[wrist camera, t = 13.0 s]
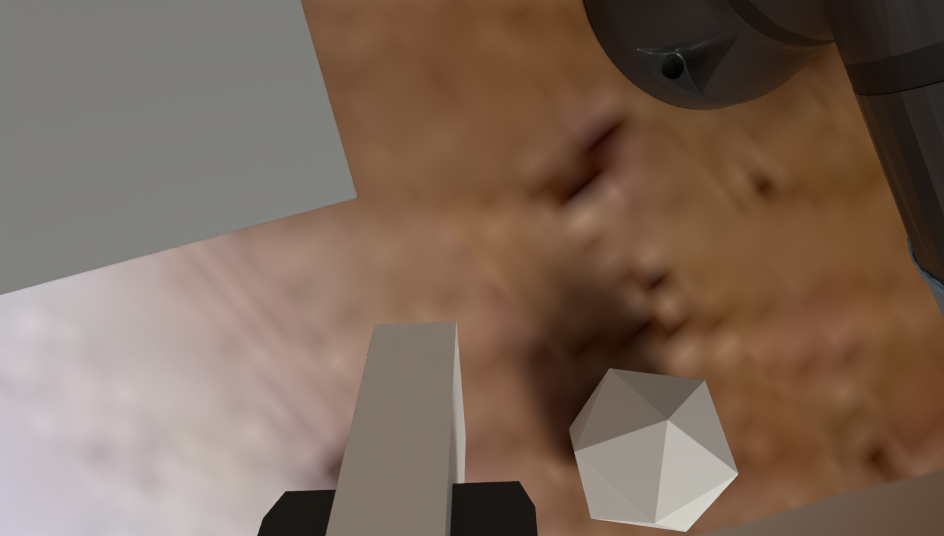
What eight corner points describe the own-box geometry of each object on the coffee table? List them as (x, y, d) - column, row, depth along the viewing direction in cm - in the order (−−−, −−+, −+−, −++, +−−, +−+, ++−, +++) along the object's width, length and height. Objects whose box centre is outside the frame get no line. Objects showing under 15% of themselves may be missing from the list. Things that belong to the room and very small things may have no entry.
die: (565, 524, 44) (730, 582, 38) (511, 458, 38) (696, 515, 33) (614, 405, 48) (771, 441, 42) (571, 328, 42) (746, 358, 36)
